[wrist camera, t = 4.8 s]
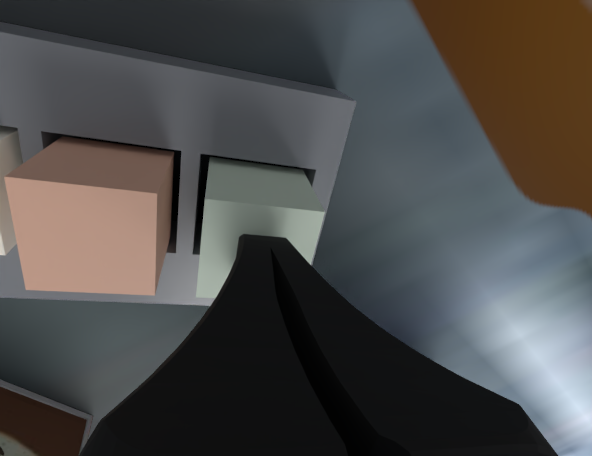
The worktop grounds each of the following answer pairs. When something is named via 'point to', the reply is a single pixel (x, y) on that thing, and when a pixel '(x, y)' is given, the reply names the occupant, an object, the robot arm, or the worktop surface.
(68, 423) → the half round cake
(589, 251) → the worktop surface
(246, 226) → the key sage
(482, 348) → the worktop surface
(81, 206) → the key terracotta
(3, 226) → the key cream
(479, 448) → the robot arm
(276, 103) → the key console
